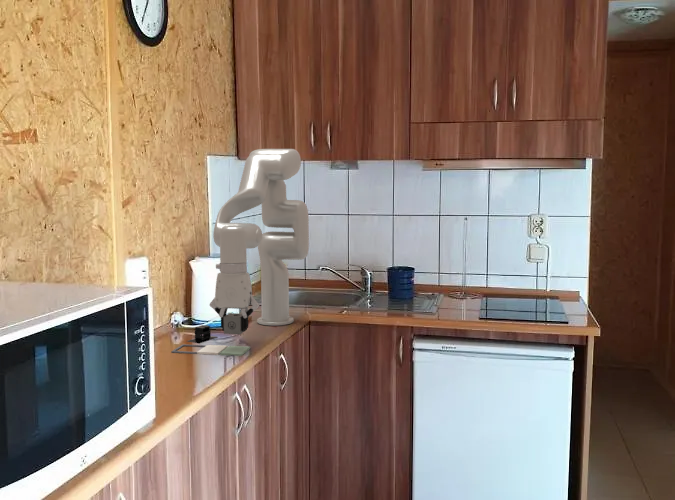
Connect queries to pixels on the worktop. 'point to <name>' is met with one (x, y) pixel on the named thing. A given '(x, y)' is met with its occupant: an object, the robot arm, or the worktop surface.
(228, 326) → the dice cube
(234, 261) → the robot arm
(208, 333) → the black angular block
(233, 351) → the game board
